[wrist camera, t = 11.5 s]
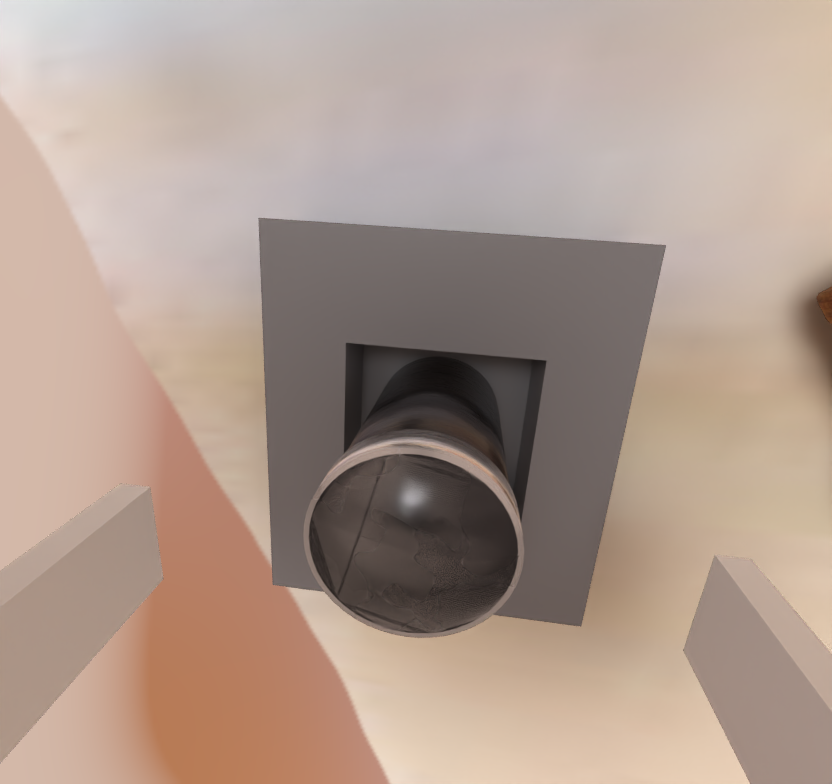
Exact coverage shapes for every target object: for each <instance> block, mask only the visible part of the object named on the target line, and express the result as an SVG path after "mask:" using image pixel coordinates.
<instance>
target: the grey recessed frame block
mask: <svg viewBox="0 0 832 784" xmlns="http://www.w3.org/2000/svg"><path fill="white" fill-rule="evenodd" d="M259 241H260V267H261V293H262V319H263V345H264V371H265V396H266V422H267V448H268V474H269V500H270V526H271V552H272V577H273V585H279V586H286V587H293V588H301V589H308V590H315V591H323V592H324V590H323V589H322V588H321V586H320V585H319V584H318V582H317V580H316V578H315V577H314V575H313V573H312V571H311V568H310V566H309V563H308V561H307V557H306V553H305V549H304V538H303V533H304V522H305V517H306V512H307V510H308V507H309V504H310V502H311V500H312V498H313V496H314V495H315V493H316V491H317V489H318V488H319V486H320V484H321V483H322V481H323V480H324V478H325V476H326V475H327V473H328V472H329V470H330V468H331V467H332V466H333V465H334V463H335V462H336V461H337V460H338V459H339V458H340V457H341V456H342V455H343V454H344V453H345V452H346V451H347V450H348V448H349V447H350V445H351V443H352V442H353V440H354V438H355V437H356V435H357V433H358V432H359V430H360V428H361V427H362V425H363V423H364V421H365V420H366V418H367V416H368V415H369V413H370V411H371V410H372V408H373V406H374V405H375V403H376V401H377V400H378V398H379V396H380V395H381V393H382V391H383V389H384V388H385V386H386V384H387V383H388V381H389V380H390V379H391V377H392V376H393V375H394V374H395V373H396V372H397V371H398V370H399V369H401V368H402V367H403V366H405V365H407V364H408V363H410V362H412V361H415V360H418V359H421V358H425V357H433V356H443V357H449V358H453V359H457V360H460V361H462V362H465V363H467V364H468V365H470V366H472V367H473V368H475V369H476V370H477V371H478V372H480V373H481V374H482V375H483V376H484V377H485V379H486V380H487V381H488V383H489V384H490V386H491V388H492V389H493V391H494V394H495V397H496V400H497V404H498V410H499V417H500V424H501V431H502V438H503V445H504V451H505V458H506V465H507V472H508V479H509V485H510V487H511V489H512V491H513V494H514V496H515V499H516V502H517V506H518V510H519V516H520V522H521V528H522V534H523V541H524V561H523V567H522V571H521V575H520V578H519V580H518V583H517V585H516V587H515V589H514V591H513V592H512V594H511V595H510V597H509V598H508V600H507V601H506V602H505V603H504V604H503V606H502V607H501V608H500V609H499V610H497V611H496V612H495V613H494V614H493V615H500V616H507V617H515V618H522V619H530V620H537V621H544V622H552V623H559V624H566V625H574V626H581V625H582V620H583V616H584V611H585V607H586V602H587V598H588V593H589V589H590V584H591V580H592V575H593V571H594V566H595V562H596V557H597V553H598V549H599V544H600V540H601V535H602V531H603V526H604V522H605V517H606V513H607V508H608V504H609V499H610V495H611V490H612V486H613V481H614V477H615V472H616V468H617V463H618V459H619V454H620V450H621V445H622V441H623V436H624V432H625V427H626V423H627V418H628V414H629V409H630V405H631V400H632V396H633V391H634V387H635V382H636V378H637V373H638V369H639V364H640V360H641V355H642V351H643V346H644V342H645V337H646V333H647V328H648V324H649V319H650V315H651V311H652V306H653V302H654V297H655V293H656V288H657V284H658V279H659V275H660V270H661V266H662V261H663V257H664V252H665V248H666V245H654V244H639V243H624V242H609V241H594V240H580V239H565V238H550V237H535V236H520V235H505V234H490V233H476V232H461V231H446V230H431V229H416V228H401V227H387V226H372V225H357V224H342V223H327V222H312V221H297V220H283V219H268V218H259Z"/></svg>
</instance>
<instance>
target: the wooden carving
mask: <svg viewBox="0 0 832 784" xmlns="http://www.w3.org/2000/svg"><path fill="white" fill-rule="evenodd" d="M817 300H818V304H819V306H820V308H821V310H822V311H823V313H824V316H825V318H826V319H827V320H828V321H829V322H830V323H831V324H832V287H830V288H828V289H827V290H825V291H823V292H820V293H819V294H818V296H817Z"/></svg>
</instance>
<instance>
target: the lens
mask: <svg viewBox="0 0 832 784" xmlns="http://www.w3.org/2000/svg"><path fill="white" fill-rule="evenodd" d="M303 538H304V549H305V553H306V557H307V561H308V563H309V566H310V568H311V571H312V573H313V575H314V577H315V578H316V580H317V582H318V584H319V585H320V586H321V588H322V589H323V590H324V592H325V593H326V594H327V595H328V596H329V597H330V599H331V600H332V601H333V602H334V603H335V604H337V605H338V606H339V607H340V608H341V609H342V610H343V611H345V612H346V613H348V614H349V615H351V616H352V617H354V618H355V619H357V620H359V621H361V622H362V623H364V624H366V625H368V626H371V627H373V628H375V629H378V630H381V631H384V632H387V633H391V634H395V635H400V636H406V637H417V638H426V637H439V636H446V635H451V634H455V633H459V632H461V631H464V630H467V629H470V628H472V627H474V626H476V625H478V624H480V623H482V622H483V621H485V620H486V619H487V618H489V617H490V616H492V615H493V614H494V613H495V612H496V611H497V610H499V609H500V608H501V607H502V606H503V604H504V603H505V602H506V601H507V600H508V598H509V597H510V595H511V594H512V592H513V591H514V589H515V587H516V585H517V583H518V580H519V578H520V575H521V571H522V567H523V561H524V541H523V534H522V528H521V522H520V516H519V510H518V506H517V502H516V499H515V496H514V494H513V491H512V489H511V487H510V485H509V479H508V472H507V465H506V458H505V451H504V445H503V438H502V431H501V424H500V417H499V410H498V404H497V400H496V397H495V394H494V391H493V389H492V388H491V386H490V384H489V383H488V381H487V380H486V379H485V377H484V376H483V375H482V374H481V373H480V372H478V371H477V370H476V369H475V368H473V367H472V366H470V365H468V364H467V363H465V362H462V361H460V360H457V359H453V358H449V357H443V356H433V357H425V358H421V359H418V360H415V361H412V362H410V363H408V364H407V365H405V366H403V367H402V368H401V369H399V370H398V371H397V372H396V373H395V374H394V375H393V376H392V377H391V379H390V380H389V381H388V383H387V384H386V386H385V388H384V389H383V391H382V393H381V395H380V396H379V398H378V400H377V401H376V403H375V405H374V406H373V408H372V410H371V411H370V413H369V415H368V416H367V418H366V420H365V421H364V423H363V425H362V427H361V428H360V430H359V432H358V433H357V435H356V437H355V438H354V440H353V442H352V443H351V445H350V447H349V448H348V450H347V451H346V452H345V453H344V454H343V455H342V456H341V457H340V458H339V459H338V460H337V461H336V462H335V463H334V465H333V466H332V467H331V468H330V470H329V472H328V473H327V475H326V476H325V478H324V480H323V481H322V483H321V484H320V486H319V488H318V489H317V491H316V493H315V495H314V496H313V498H312V500H311V502H310V504H309V507H308V510H307V512H306V517H305V522H304V533H303Z"/></svg>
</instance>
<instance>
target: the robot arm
mask: <svg viewBox="0 0 832 784" xmlns="http://www.w3.org/2000/svg"><path fill="white" fill-rule="evenodd" d="M162 579H163V573H162V566H161V559H160V552H159V545H158V538H157V531H156V524H155V517H154V510H153V503H152V496H151V489H150V487H146V486H138V485H129V484H119V485H118V486H116V487H115V488H114V489H112V490H111V491H110V492H108V493H107V494H105V495H104V496H103V497H101V498H100V499H99V500H97V501H96V502H94V503H93V504H92V505H90V506H89V507H87V508H86V509H85V510H83V511H82V512H81V513H79V514H78V515H76V516H75V517H74V518H72V519H71V520H70V521H68V522H67V523H65V524H64V525H63V526H61V527H60V528H59V529H57V530H56V531H54V532H53V533H52V534H50V535H49V536H48V537H46V538H45V539H43V540H42V541H41V542H39V543H38V544H36V545H35V546H34V547H32V548H31V549H29V550H28V551H27V552H25V553H24V554H23V555H21V556H20V557H19V558H17V559H16V560H14V561H13V562H12V563H10V564H9V565H7V566H6V567H5V568H3V569H2V570H1V571H0V763H1V762H2V761H3V760H4V759H5V758H6V757H7V755H8V754H9V753H10V752H11V751H12V750H13V749H14V747H15V746H16V745H17V744H18V743H19V742H20V740H22V738H23V737H24V736H25V735H26V734H27V733H28V732H29V730H30V729H31V728H32V727H33V726H34V725H35V724H36V723H37V721H38V720H39V719H40V718H41V717H42V716H43V715H44V713H45V712H46V711H47V710H48V709H49V708H50V707H51V706H52V704H53V703H54V702H55V701H56V700H57V699H58V697H59V696H60V695H61V694H62V693H63V692H64V691H65V690H66V688H67V687H68V686H69V685H70V684H71V683H72V682H73V681H74V679H75V678H76V677H77V676H78V675H79V674H80V673H81V672H82V670H83V669H84V668H85V667H86V666H87V665H88V664H89V662H90V661H91V660H92V659H93V658H94V657H95V656H96V655H97V653H98V652H99V651H100V650H101V649H102V648H103V647H104V645H105V644H106V643H107V642H108V641H109V640H110V639H111V638H112V636H113V635H114V634H115V633H116V632H117V631H118V630H119V629H120V627H121V626H122V625H123V624H124V623H125V622H126V621H127V619H128V618H129V617H130V616H131V615H132V614H133V613H134V611H135V610H136V609H137V608H138V607H139V606H140V605H141V603H142V602H143V601H144V600H145V599H146V598H147V597H148V596H149V595H150V593H151V592H152V591H153V590H154V589H155V588H156V586H157V585H158V584H159V583H160V582H161V581H162ZM683 651H684V653H685V655H686V657H687V658H688V660H689V662H690V664H691V666H692V668H693V670H694V672H695V674H696V676H697V678H698V680H699V682H700V684H701V686H702V688H703V690H704V692H705V694H706V696H707V698H708V700H709V702H710V704H711V706H712V708H713V710H714V712H715V714H716V716H717V718H718V720H719V722H720V724H721V726H722V728H723V730H724V732H725V734H726V736H727V738H728V740H729V742H730V744H731V746H732V748H733V750H734V752H735V754H736V756H737V758H738V760H739V762H740V764H741V766H742V768H743V770H744V772H745V774H746V776H747V778H748V780H749V782H750V784H832V654H831V652H830V651H829V650H828V649H827V648H826V646H825V645H824V644H823V643H822V642H821V641H820V639H819V638H818V637H817V636H816V635H815V633H814V632H813V631H812V630H811V629H810V628H809V626H808V625H807V624H806V623H805V622H804V620H803V619H802V618H801V617H800V616H799V615H798V613H797V612H796V611H795V610H794V609H793V607H792V606H791V605H790V604H789V603H788V602H787V600H786V599H785V598H784V597H783V596H782V594H781V593H780V592H779V591H778V590H777V589H776V587H775V586H774V585H773V584H772V583H771V581H770V580H769V579H768V578H767V577H766V576H765V574H764V573H763V572H762V571H761V570H760V568H759V567H758V566H757V565H756V564H755V563H754V561H753V560H752V559H746V558H737V557H729V556H721V555H715V556H714V559H713V562H712V565H711V568H710V571H709V574H708V577H707V580H706V583H705V586H704V589H703V592H702V595H701V598H700V601H699V604H698V607H697V610H696V613H695V616H694V619H693V622H692V625H691V628H690V631H689V635H688V638H687V641H686V644H685V647H684V650H683Z"/></svg>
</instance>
